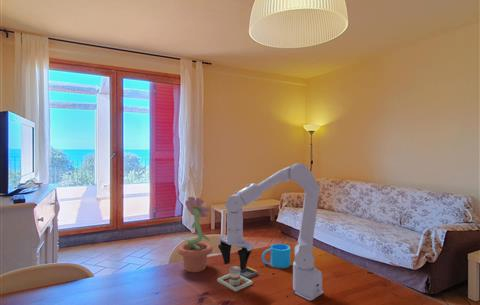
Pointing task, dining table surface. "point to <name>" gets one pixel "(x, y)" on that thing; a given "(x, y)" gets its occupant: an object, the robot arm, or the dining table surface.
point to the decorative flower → (196, 239)
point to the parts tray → (233, 286)
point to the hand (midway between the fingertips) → (234, 266)
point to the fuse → (234, 275)
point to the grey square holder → (248, 272)
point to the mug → (279, 256)
